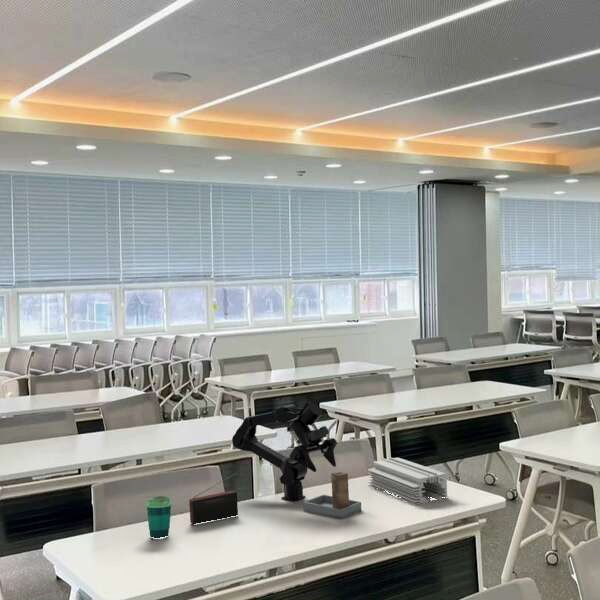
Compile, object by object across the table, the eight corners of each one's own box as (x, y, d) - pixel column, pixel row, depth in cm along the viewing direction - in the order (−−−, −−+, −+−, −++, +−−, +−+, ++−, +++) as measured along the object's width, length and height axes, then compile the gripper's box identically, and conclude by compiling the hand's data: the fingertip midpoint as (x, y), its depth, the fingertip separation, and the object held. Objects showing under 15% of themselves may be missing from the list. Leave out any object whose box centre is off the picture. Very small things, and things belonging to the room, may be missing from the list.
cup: (142, 539, 252) (140, 502, 252) (156, 531, 260) (154, 495, 259) (164, 541, 249) (162, 503, 249) (177, 532, 257) (176, 496, 256)
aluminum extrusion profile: (414, 505, 275) (413, 477, 275) (368, 486, 302) (367, 460, 302) (447, 498, 281) (446, 471, 281) (399, 480, 309) (398, 455, 308)
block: (332, 510, 270) (331, 473, 270) (341, 508, 273) (339, 471, 272) (340, 513, 267) (339, 475, 267) (349, 510, 270) (347, 472, 269)
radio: (194, 526, 263) (191, 482, 262) (190, 524, 265) (188, 480, 265) (243, 515, 272) (241, 472, 272) (240, 513, 275) (237, 471, 274)
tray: (303, 510, 274) (303, 502, 274) (323, 502, 283) (323, 494, 282) (341, 519, 263) (341, 510, 263) (361, 510, 271) (361, 502, 271)
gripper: (293, 424, 274) (315, 460, 266) (332, 415, 286) (355, 450, 278) (280, 443, 281) (301, 479, 273) (319, 434, 293) (341, 468, 284)
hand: (325, 468), depth 277 cm, fingers open, 9 cm apart
